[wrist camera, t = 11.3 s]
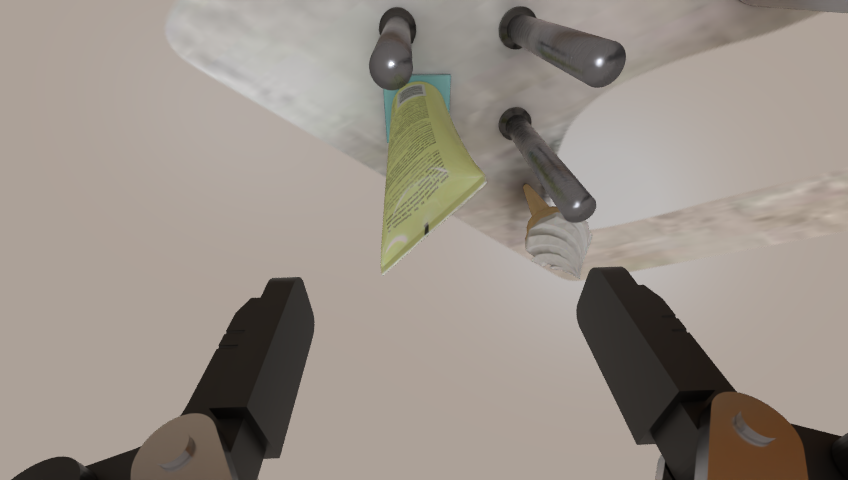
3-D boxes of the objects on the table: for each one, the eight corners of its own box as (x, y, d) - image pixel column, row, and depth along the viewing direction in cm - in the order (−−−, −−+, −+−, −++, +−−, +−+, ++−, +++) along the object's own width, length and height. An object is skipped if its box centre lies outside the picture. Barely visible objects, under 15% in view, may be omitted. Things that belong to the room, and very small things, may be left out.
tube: (443, 141, 34) (475, 276, 18) (392, 141, 34) (380, 278, 18) (446, 79, 31) (488, 181, 15) (389, 78, 30) (371, 181, 15)
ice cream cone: (506, 213, 40) (549, 312, 28) (494, 172, 37) (536, 264, 25) (554, 196, 39) (620, 291, 27) (545, 153, 36) (615, 239, 24)
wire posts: (550, 6, 28) (668, 27, 15) (526, 137, 35) (596, 228, 22) (378, 7, 28) (354, 30, 15) (387, 140, 34) (376, 234, 22)
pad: (449, 74, 31) (450, 75, 31) (447, 139, 35) (448, 141, 34) (382, 74, 31) (382, 76, 30) (387, 140, 34) (387, 142, 34)
